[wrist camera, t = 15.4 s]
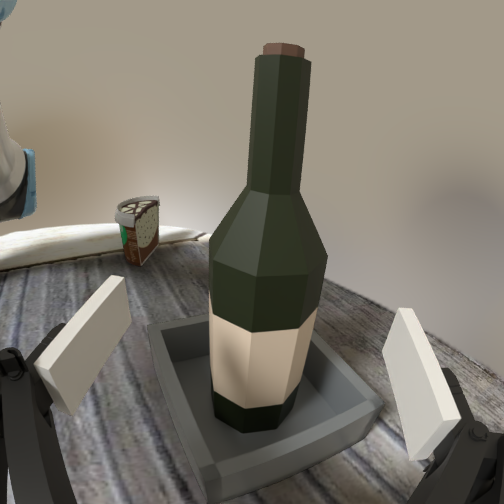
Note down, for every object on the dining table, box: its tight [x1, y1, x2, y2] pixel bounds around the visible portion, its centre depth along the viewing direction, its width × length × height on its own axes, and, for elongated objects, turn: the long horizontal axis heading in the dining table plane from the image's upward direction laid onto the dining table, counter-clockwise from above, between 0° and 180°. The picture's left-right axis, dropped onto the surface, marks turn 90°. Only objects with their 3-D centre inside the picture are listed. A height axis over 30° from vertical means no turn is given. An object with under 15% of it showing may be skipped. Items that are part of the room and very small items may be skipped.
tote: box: [147, 314, 385, 504], centre depth 28 cm, size 18×16×6 cm
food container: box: [115, 196, 160, 266], centre depth 56 cm, size 12×6×10 cm, turn 175°
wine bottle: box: [209, 43, 328, 434], centre depth 22 cm, size 8×8×30 cm
